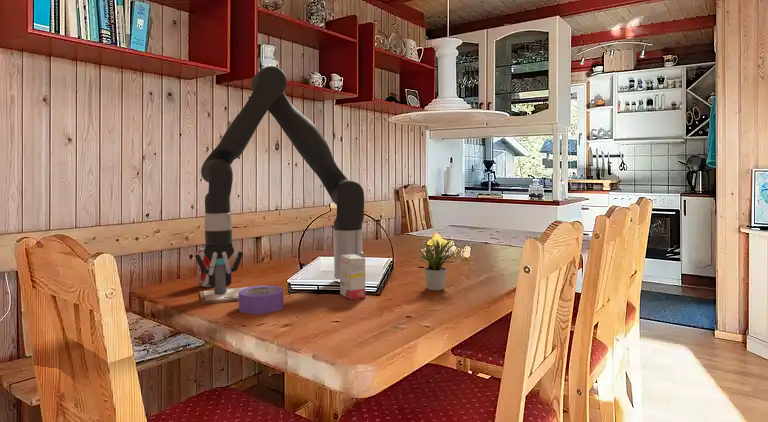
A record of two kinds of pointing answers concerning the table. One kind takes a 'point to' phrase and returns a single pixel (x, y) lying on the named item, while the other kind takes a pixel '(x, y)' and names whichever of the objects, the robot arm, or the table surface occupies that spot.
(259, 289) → the tape roll
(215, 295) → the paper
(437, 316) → the table surface
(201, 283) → the soda can
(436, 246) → the house plant
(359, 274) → the ink box
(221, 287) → the marker
